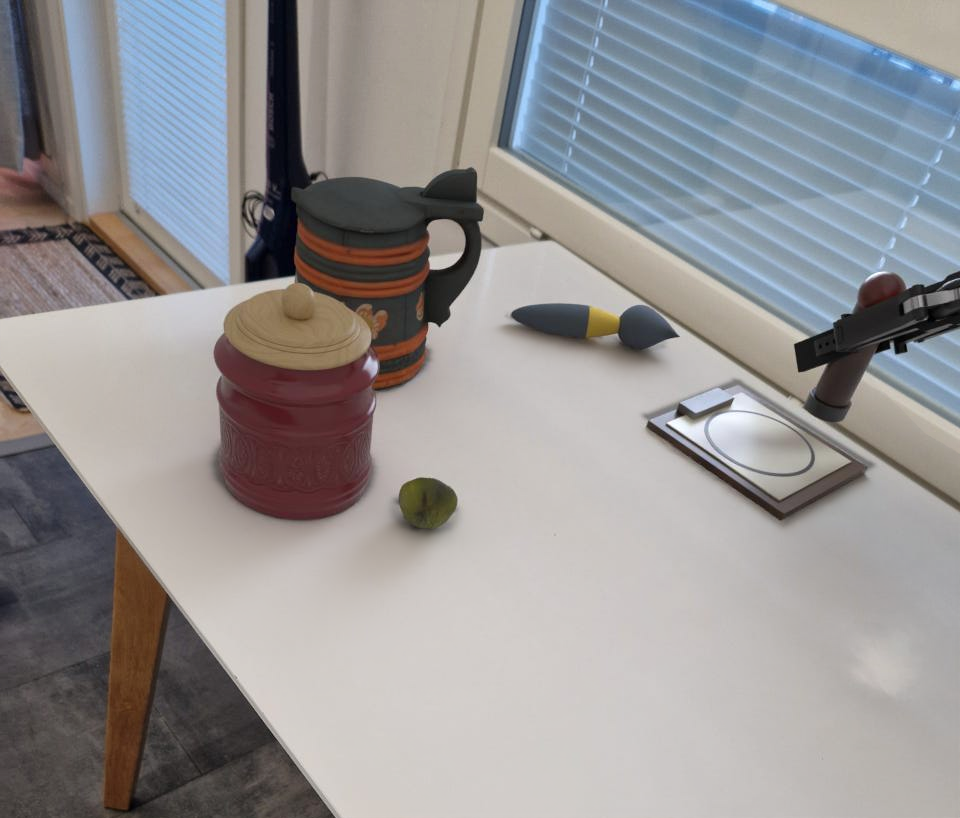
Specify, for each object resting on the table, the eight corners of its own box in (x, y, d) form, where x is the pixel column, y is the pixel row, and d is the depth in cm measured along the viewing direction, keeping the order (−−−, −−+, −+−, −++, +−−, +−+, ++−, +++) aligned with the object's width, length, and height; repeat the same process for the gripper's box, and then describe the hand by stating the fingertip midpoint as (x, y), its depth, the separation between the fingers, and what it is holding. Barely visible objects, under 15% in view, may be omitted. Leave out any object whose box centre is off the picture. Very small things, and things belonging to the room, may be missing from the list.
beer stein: (445, 325, 104) (472, 138, 90) (476, 394, 94) (511, 197, 80) (278, 319, 98) (278, 120, 84) (293, 392, 89) (296, 181, 75)
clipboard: (864, 473, 96) (872, 459, 95) (781, 520, 87) (788, 505, 86) (734, 390, 104) (740, 377, 103) (645, 426, 95) (650, 411, 94)
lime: (388, 515, 78) (394, 468, 75) (436, 503, 80) (443, 457, 77) (413, 546, 76) (420, 499, 72) (461, 533, 78) (470, 487, 75)
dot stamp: (852, 415, 87) (923, 279, 77) (830, 426, 85) (901, 288, 75) (818, 395, 89) (884, 260, 79) (796, 405, 86) (861, 267, 77)
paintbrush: (510, 339, 104) (518, 297, 100) (508, 318, 107) (516, 278, 104) (674, 363, 106) (687, 323, 103) (667, 342, 110) (680, 303, 106)
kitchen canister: (377, 523, 77) (396, 333, 65) (221, 524, 74) (209, 323, 61) (361, 436, 86) (375, 253, 73) (220, 433, 82) (209, 241, 70)
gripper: (990, 325, 62) (755, 404, 83) (1132, 310, 69) (881, 386, 90) (975, 214, 61) (742, 322, 83) (1120, 210, 68) (870, 311, 89)
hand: (815, 356), depth 86 cm, fingers closed on dot stamp, 3 cm apart
